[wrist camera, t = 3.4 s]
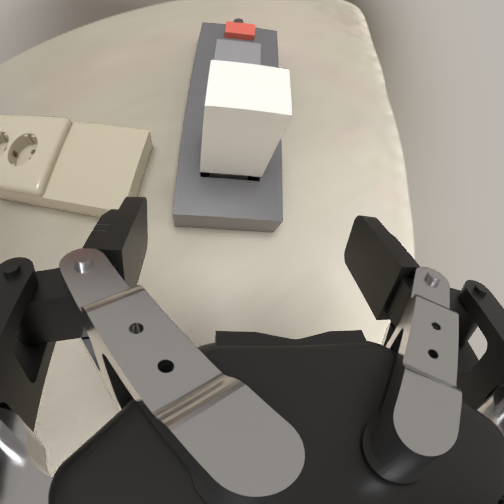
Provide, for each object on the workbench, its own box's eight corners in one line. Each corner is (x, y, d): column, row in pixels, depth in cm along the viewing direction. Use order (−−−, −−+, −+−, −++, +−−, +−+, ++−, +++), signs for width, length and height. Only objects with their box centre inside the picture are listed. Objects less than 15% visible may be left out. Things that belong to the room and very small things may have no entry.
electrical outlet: (120, 208, 21) (-43, 180, 19) (130, 224, 25) (-22, 195, 22) (148, 124, 23) (-13, 113, 20) (153, 149, 27) (4, 133, 24)
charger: (198, 190, 26) (204, 105, 15) (202, 152, 27) (211, 59, 16) (253, 194, 27) (291, 115, 16) (254, 157, 28) (289, 69, 17)
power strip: (174, 226, 25) (171, 210, 21) (204, 22, 31) (207, -1, 27) (273, 232, 26) (285, 218, 23) (270, 30, 32) (277, 7, 28)
